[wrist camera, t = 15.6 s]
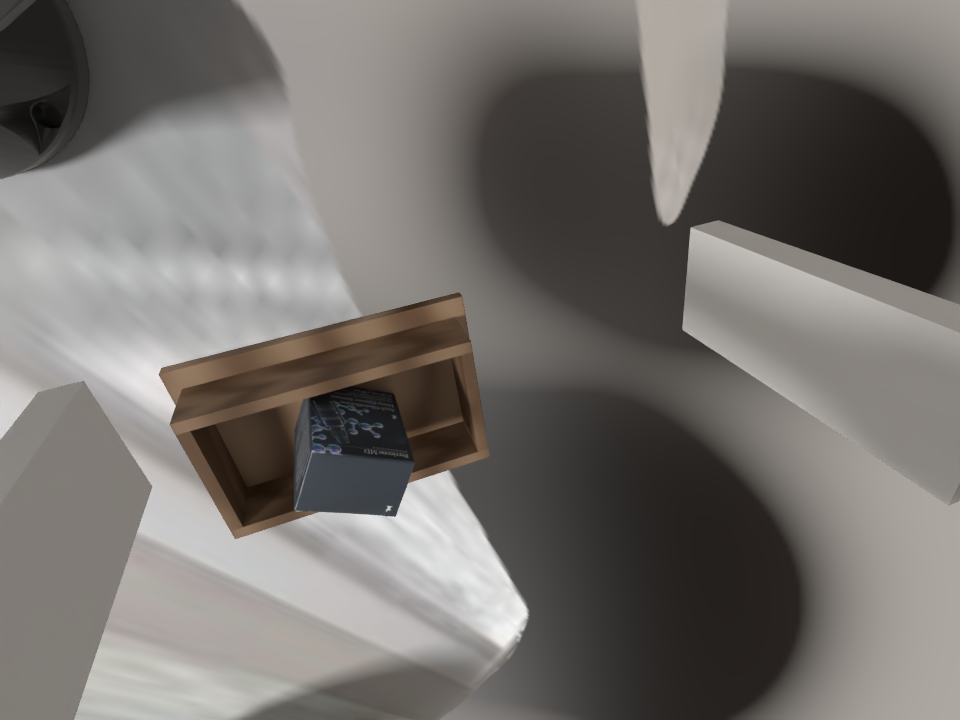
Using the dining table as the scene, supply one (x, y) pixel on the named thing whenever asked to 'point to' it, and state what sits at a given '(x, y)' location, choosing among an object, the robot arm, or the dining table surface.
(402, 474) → the box
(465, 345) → the tray
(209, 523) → the dining table surface
